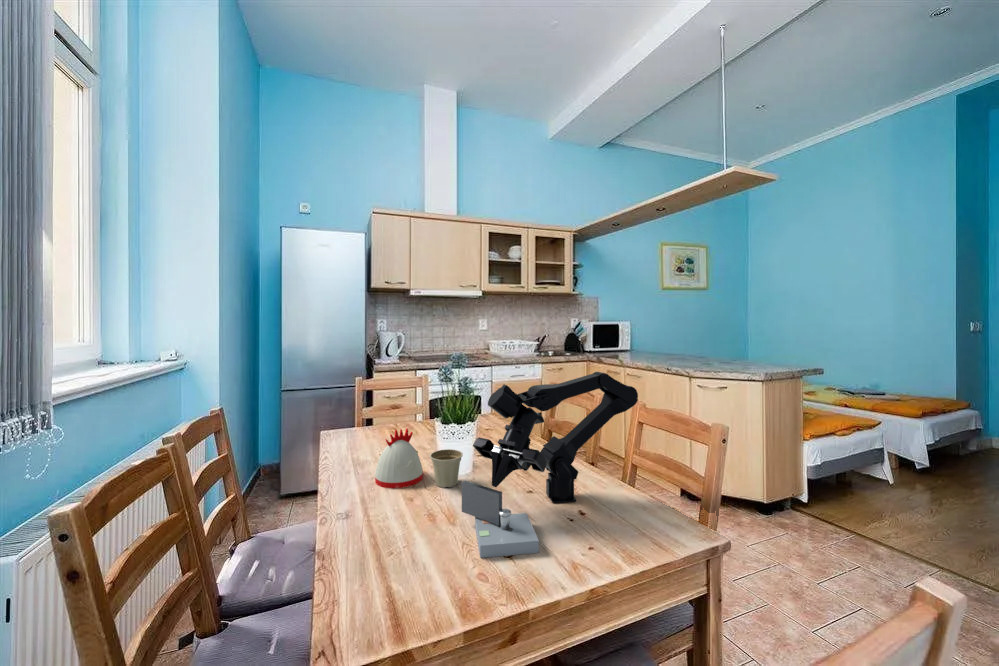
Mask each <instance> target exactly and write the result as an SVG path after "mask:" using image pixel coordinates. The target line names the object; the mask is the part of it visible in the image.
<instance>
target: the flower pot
mask: <svg viewBox="0 0 999 666" xmlns="http://www.w3.org/2000/svg"><path fill="white" fill-rule="evenodd" d="M463 454H464V452H462V451H460V450H458V449H452V448H451V449H450V448H446V449H439V450H435V451H433V452H431V453H430V454H429V458H430V459H431V463H432V465H433V472H434V479H435V485H436V486H437V487H438V488H439V487H440V488H452V487H454V486H456V485H457V484H458V481H459V473H460V464H461V461H462V457H463Z"/></svg>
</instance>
